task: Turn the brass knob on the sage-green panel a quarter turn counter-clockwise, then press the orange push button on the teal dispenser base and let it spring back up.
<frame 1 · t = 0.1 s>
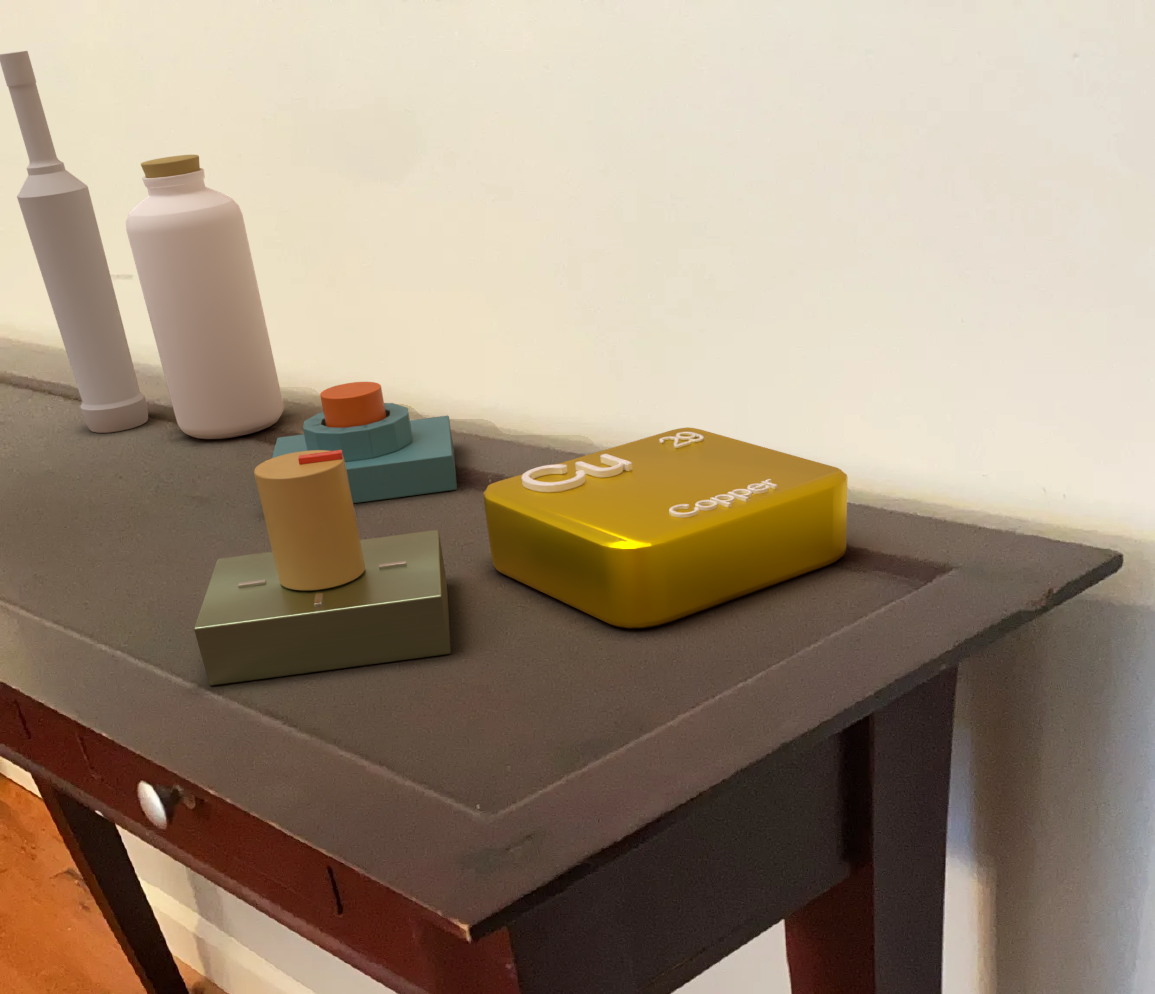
potion bottle: (234, 430, 110), on the table
bottle: (119, 426, 114), on the table
button: (353, 406, 92), point 5 cm above the table, slide at 0.2 cm
panel: (334, 632, 73), on the table
element tile: (665, 564, 77), on the table
knob: (310, 517, 70), point 6 cm above the table, hinge at 0.0°
dispenser: (367, 479, 95), on the table
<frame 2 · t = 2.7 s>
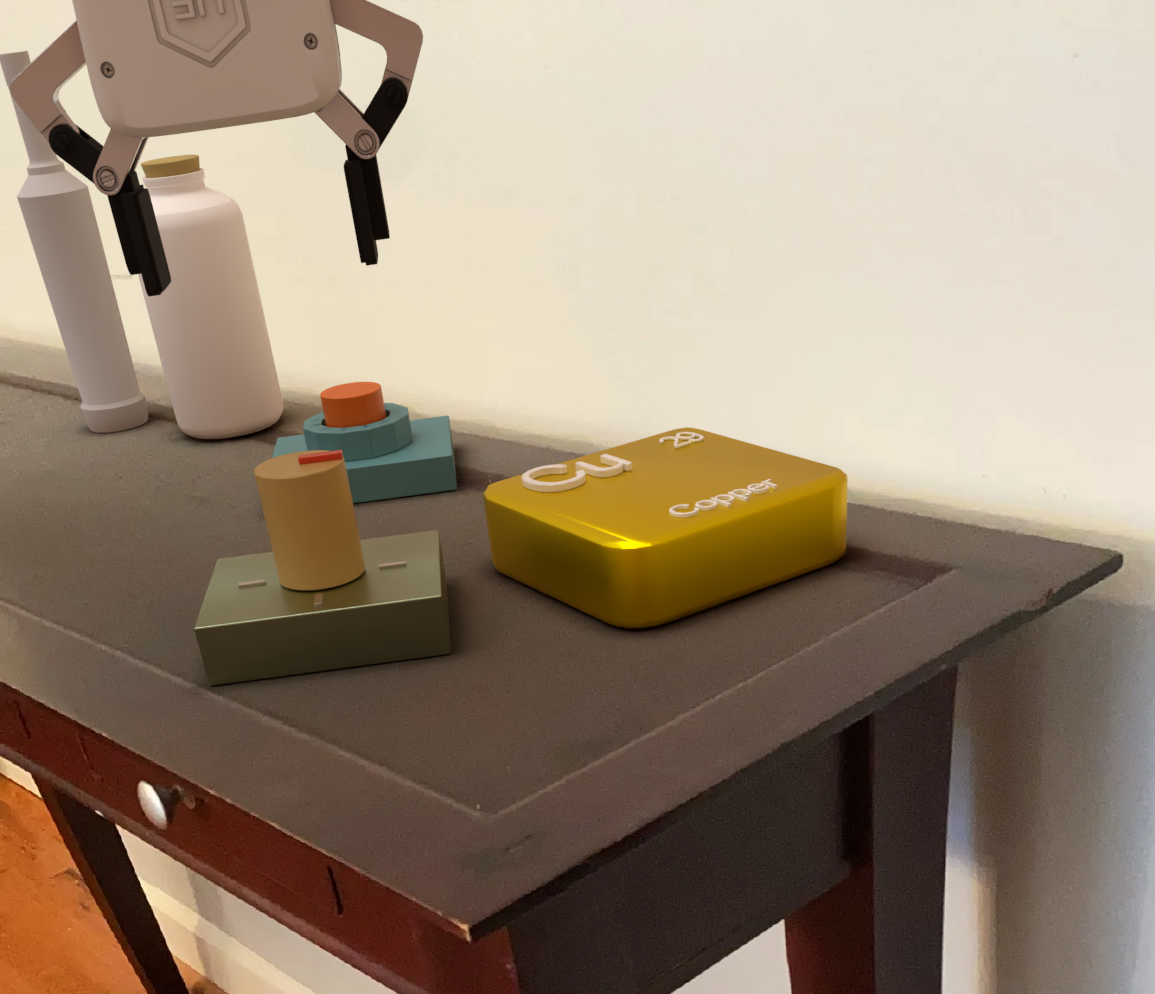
hand: (265, 275, 64), 17 cm above the table, tool pointing down, fingers open, 9 cm apart
nothing on the table moved.
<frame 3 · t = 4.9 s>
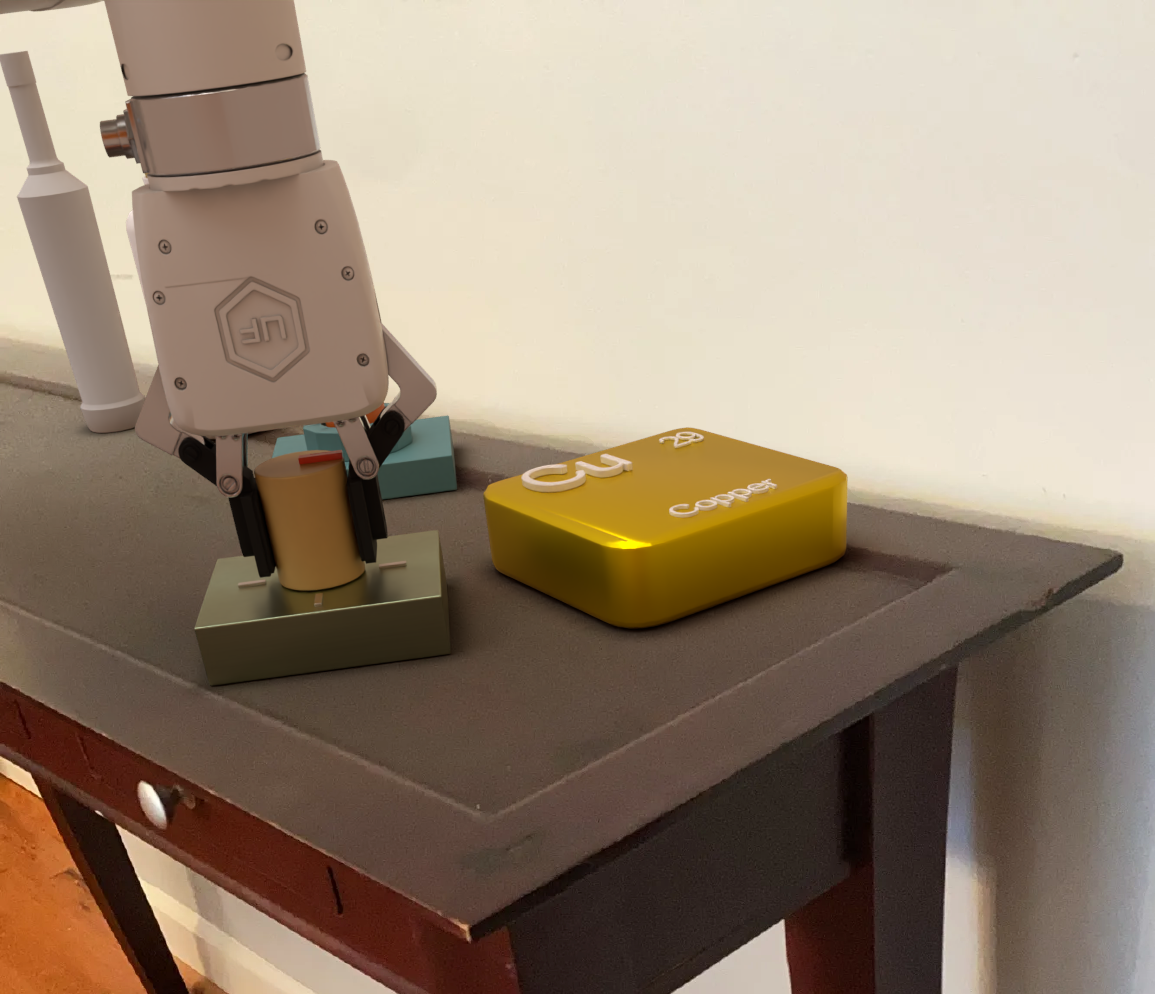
hand: (319, 557, 71), 4 cm above the table, tool pointing down, fingers closed on knob, 4 cm apart
knob: (310, 517, 70), point 6 cm above the table, hinge at 0.2°, touching gripper
everything else where it was.
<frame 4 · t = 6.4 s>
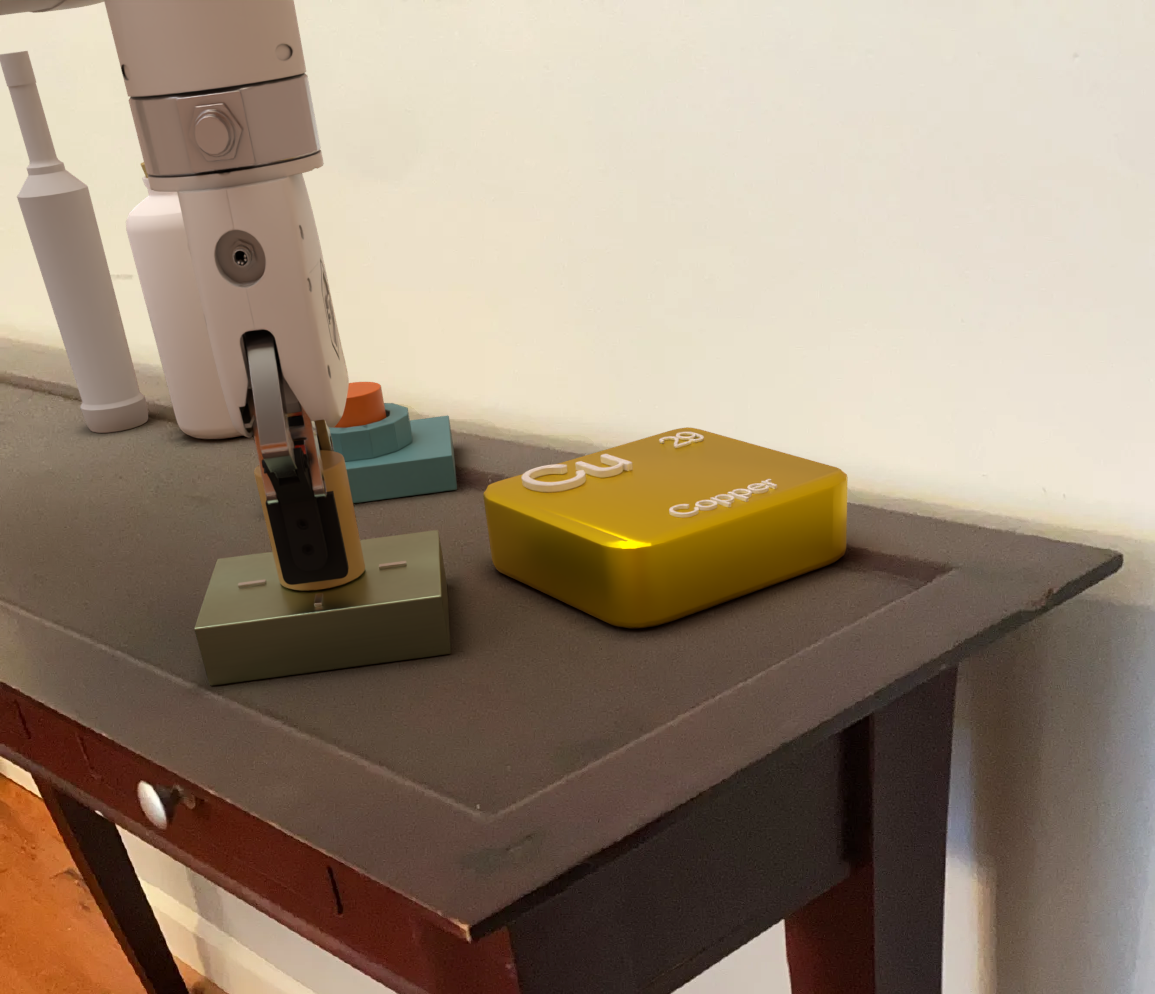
hand: (320, 557, 71), 4 cm above the table, tool pointing down, fingers closed on knob, 4 cm apart
knob: (310, 517, 70), point 6 cm above the table, hinge at 89.8°, touching gripper
everything else where it was.
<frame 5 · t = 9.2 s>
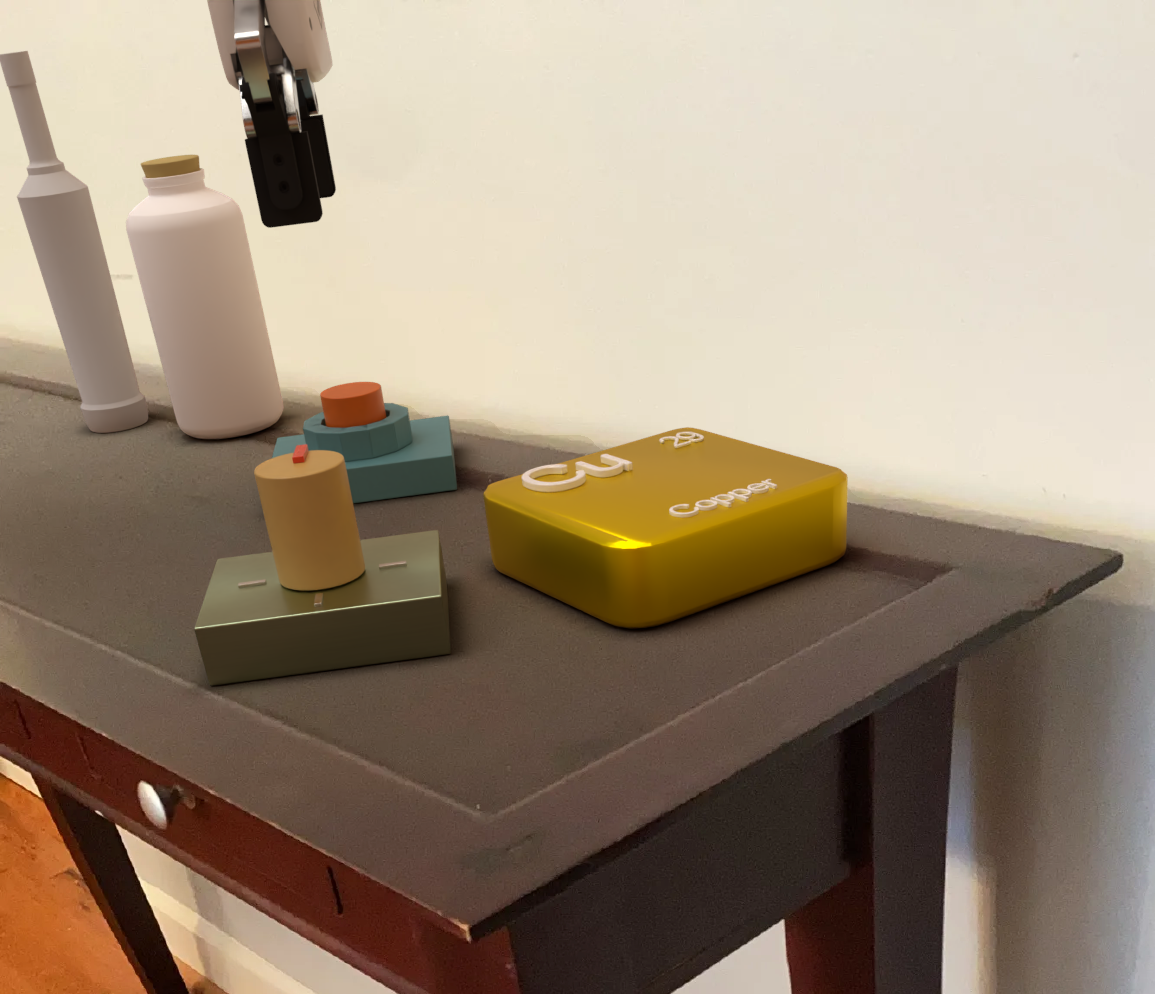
hand: (302, 210, 78), 17 cm above the table, tool pointing down, fingers open, 9 cm apart
knob: (310, 517, 70), point 6 cm above the table, hinge at 88.0°
everything else where it was.
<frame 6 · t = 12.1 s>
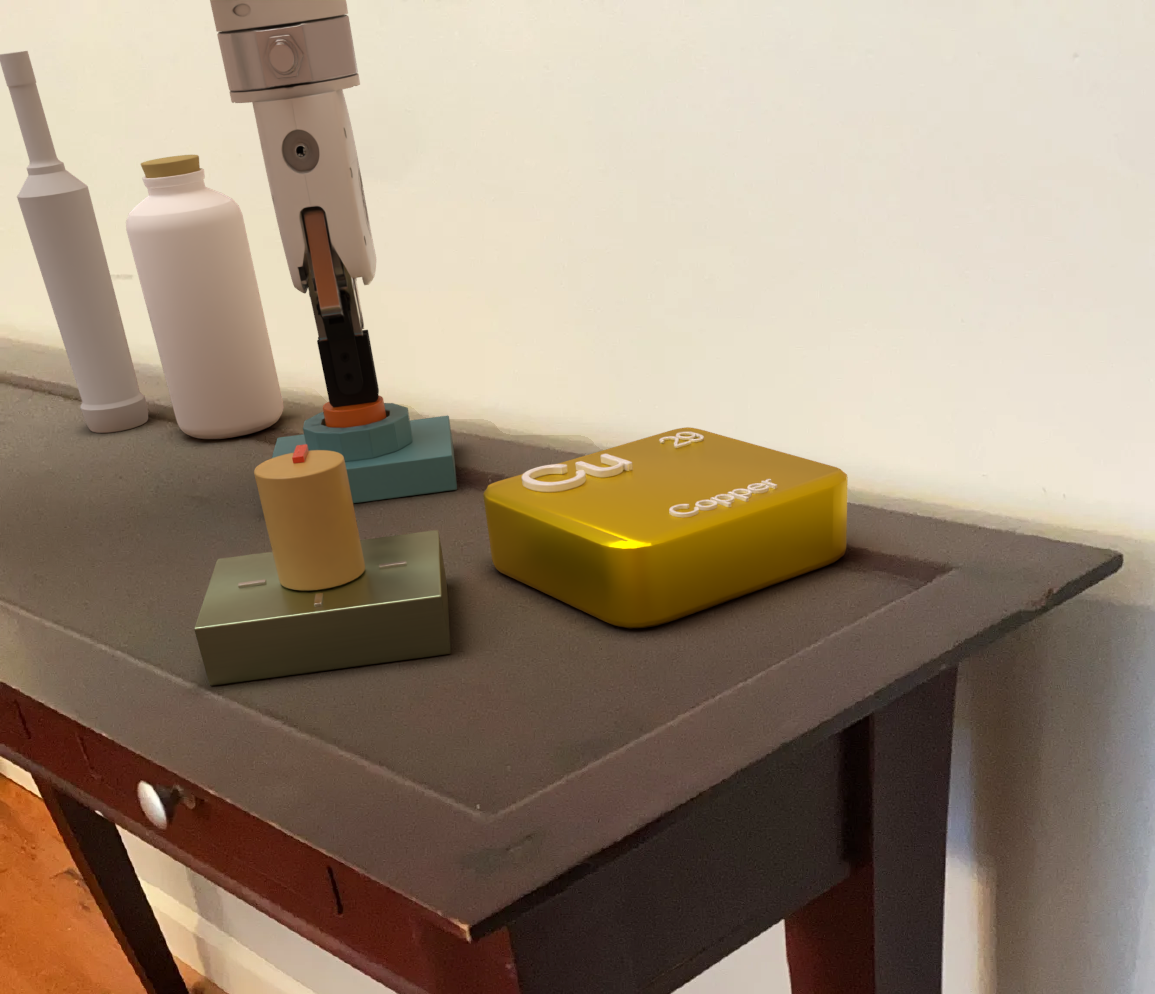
hand: (355, 401, 92), 5 cm above the table, tool pointing down, fingers closed
button: (355, 418, 92), point 4 cm above the table, slide at -0.6 cm, touching gripper
everything else where it was.
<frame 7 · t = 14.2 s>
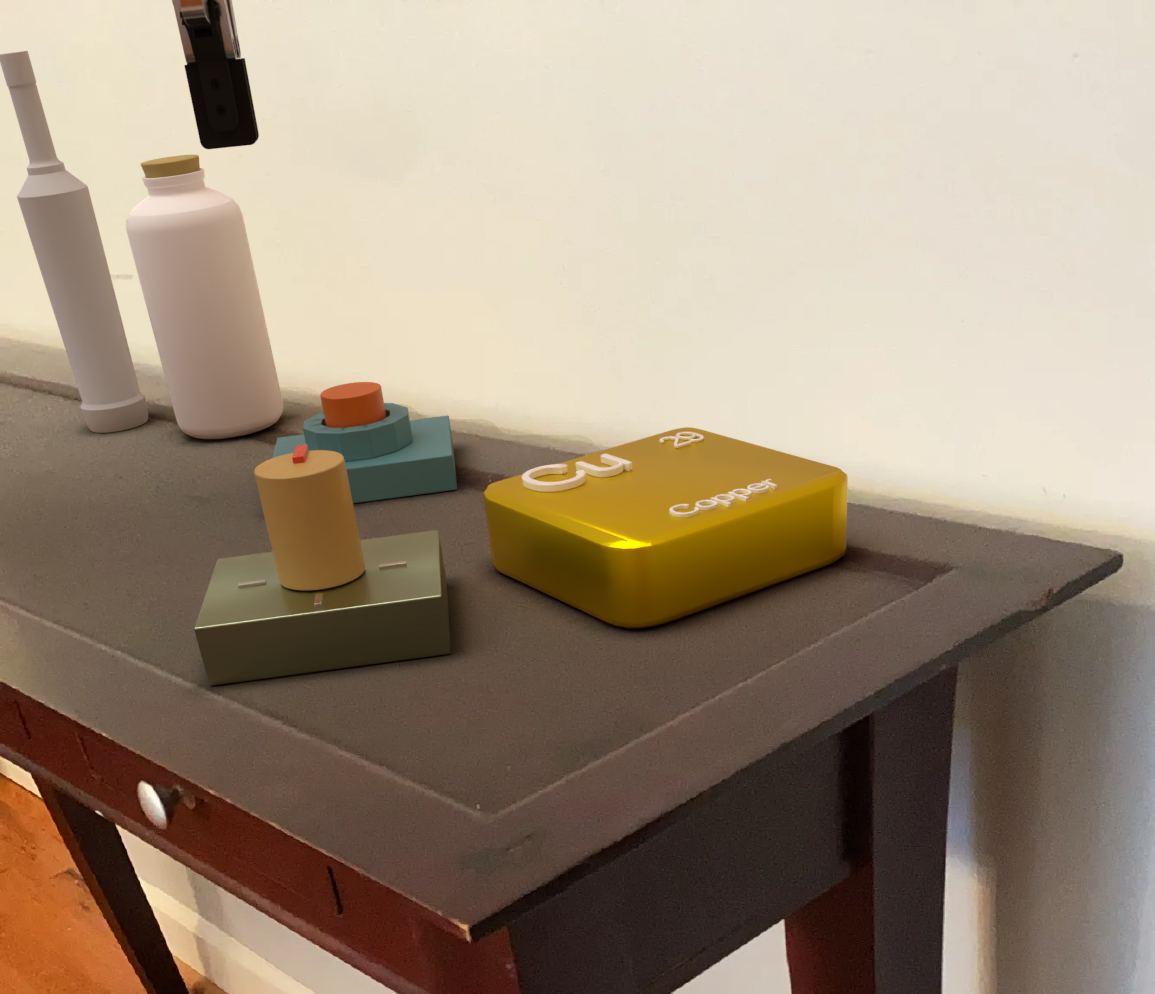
hand: (231, 144, 81), 20 cm above the table, tool pointing down, fingers closed
button: (353, 406, 92), point 5 cm above the table, slide at 0.1 cm
everything else where it was.
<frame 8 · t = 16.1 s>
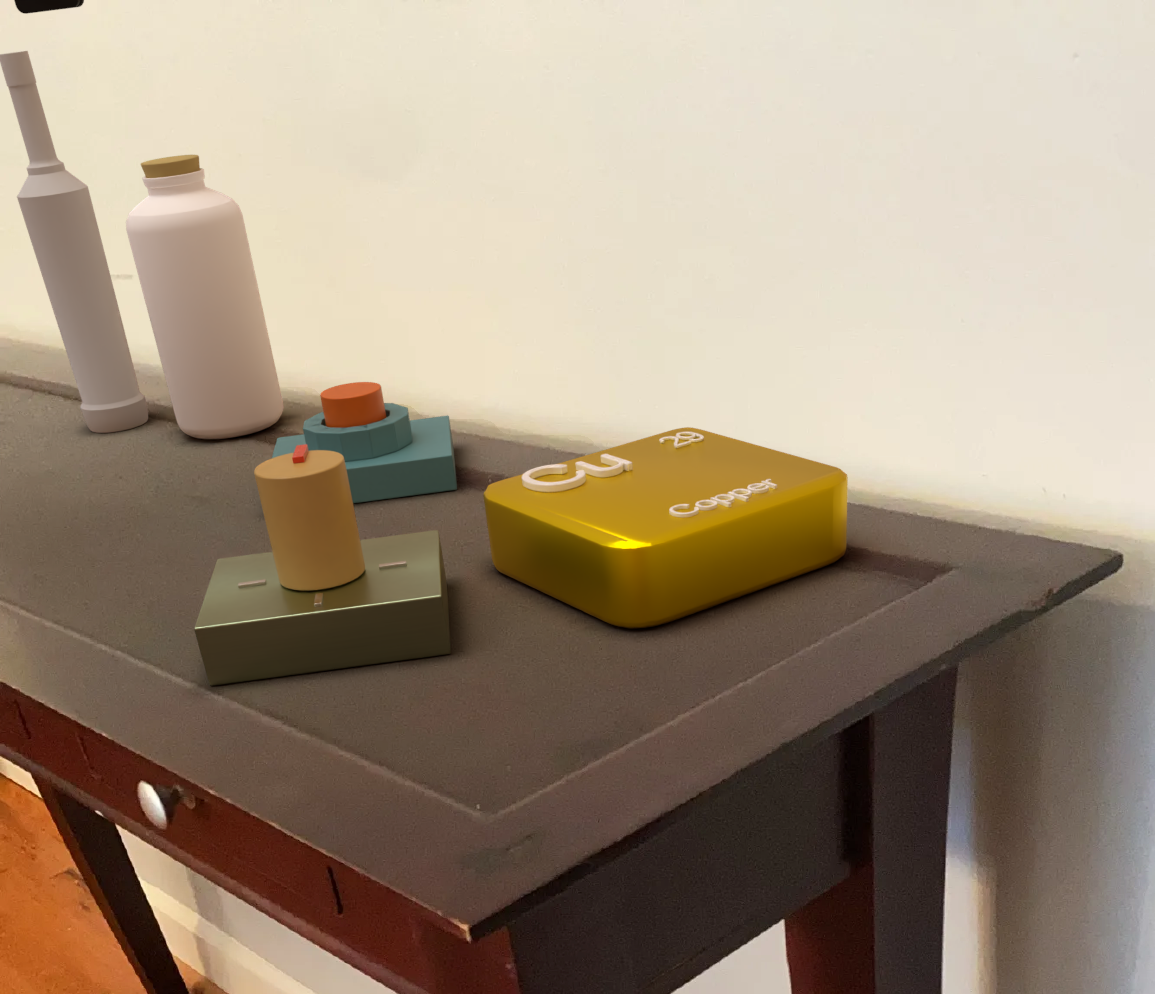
hand: (52, 9, 72), 27 cm above the table, tool pointing down, fingers closed
nothing on the table moved.
at the end: knob at +88° (first picture: +0°); button pushed in 1.1 cm at the most during the clip, back to where it started at the end; button slide at 0.1 cm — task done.
